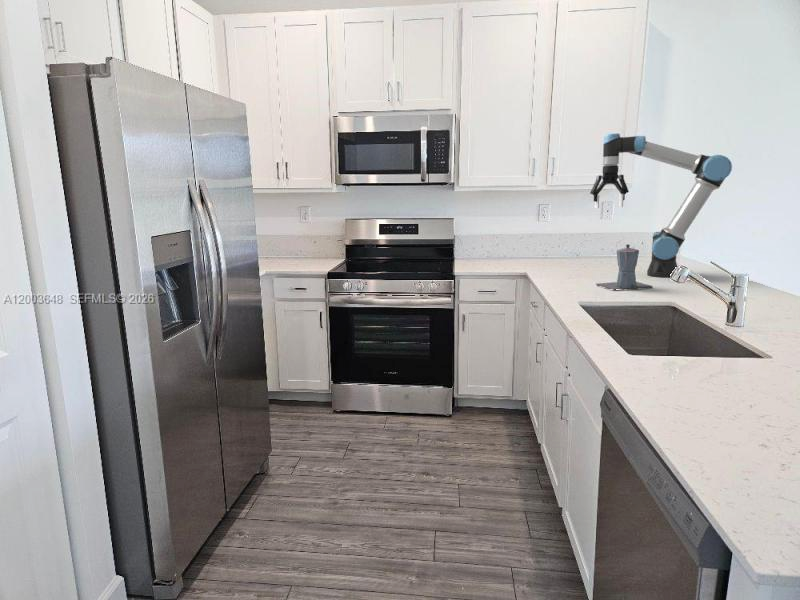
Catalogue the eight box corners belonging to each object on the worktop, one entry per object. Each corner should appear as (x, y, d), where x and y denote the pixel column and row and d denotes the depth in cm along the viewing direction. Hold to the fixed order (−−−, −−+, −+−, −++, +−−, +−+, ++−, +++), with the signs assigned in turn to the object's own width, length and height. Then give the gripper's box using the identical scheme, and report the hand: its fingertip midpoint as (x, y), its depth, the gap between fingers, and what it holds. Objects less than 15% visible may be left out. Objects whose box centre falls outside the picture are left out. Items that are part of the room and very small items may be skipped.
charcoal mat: (633, 282, 261) (633, 280, 260) (652, 288, 246) (652, 285, 246) (596, 285, 257) (596, 283, 257) (613, 290, 243) (613, 288, 243)
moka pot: (615, 289, 242) (617, 245, 238) (614, 283, 256) (616, 242, 252) (637, 289, 239) (640, 245, 234) (635, 283, 253) (637, 242, 249)
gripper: (628, 165, 273) (626, 206, 277) (584, 166, 269) (582, 208, 273) (637, 164, 266) (635, 206, 270) (592, 165, 261) (590, 208, 266)
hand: (608, 207), depth 271 cm, fingers open, 13 cm apart
